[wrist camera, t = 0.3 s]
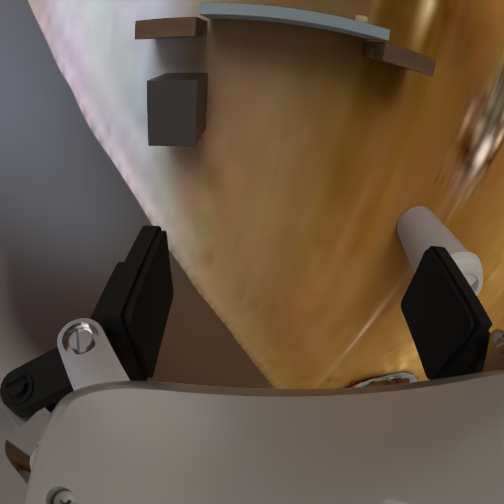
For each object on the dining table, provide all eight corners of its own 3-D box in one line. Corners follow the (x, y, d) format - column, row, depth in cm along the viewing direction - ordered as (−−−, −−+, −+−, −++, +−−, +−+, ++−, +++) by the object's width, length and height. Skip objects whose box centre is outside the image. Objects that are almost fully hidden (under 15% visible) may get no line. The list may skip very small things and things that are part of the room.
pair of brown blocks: (155, 23, 27) (135, 21, 22) (409, 54, 28) (435, 59, 23) (154, 38, 29) (134, 39, 23) (407, 68, 30) (432, 76, 25)
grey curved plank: (210, 1, 26) (201, -7, 21) (371, 23, 26) (391, 21, 22) (209, 18, 27) (199, 14, 22) (369, 39, 28) (388, 40, 23)
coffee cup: (396, 258, 48) (429, 329, 36) (379, 214, 43) (417, 287, 31) (445, 233, 44) (488, 298, 32) (433, 186, 39) (487, 250, 28)
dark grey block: (166, 73, 32) (147, 80, 26) (208, 73, 32) (197, 79, 26) (165, 127, 36) (148, 145, 30) (205, 128, 36) (195, 146, 30)
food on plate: (329, 380, 72) (332, 403, 67) (422, 358, 68) (429, 379, 63) (334, 415, 87) (336, 434, 82) (409, 398, 83) (413, 415, 78)
